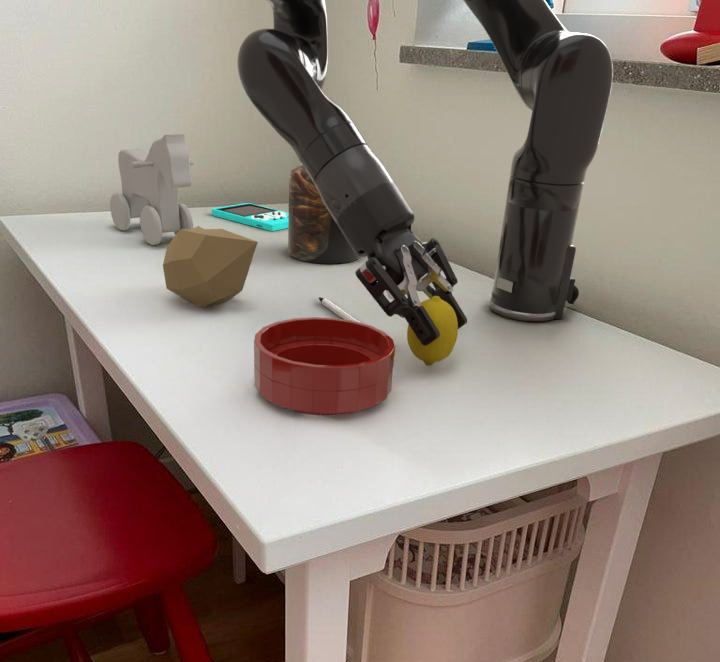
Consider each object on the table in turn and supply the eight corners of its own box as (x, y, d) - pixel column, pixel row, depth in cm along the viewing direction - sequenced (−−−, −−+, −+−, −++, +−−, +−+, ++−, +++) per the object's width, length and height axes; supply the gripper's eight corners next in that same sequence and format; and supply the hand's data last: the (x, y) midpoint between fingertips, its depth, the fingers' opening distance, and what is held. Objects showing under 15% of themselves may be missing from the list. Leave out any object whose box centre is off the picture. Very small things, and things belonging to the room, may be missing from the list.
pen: (385, 350, 90) (386, 341, 89) (316, 301, 104) (316, 293, 103) (391, 349, 90) (392, 340, 90) (321, 300, 104) (322, 292, 104)
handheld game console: (270, 231, 136) (270, 223, 136) (209, 215, 145) (209, 207, 144) (308, 223, 143) (308, 216, 143) (248, 208, 152) (248, 201, 151)
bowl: (384, 367, 85) (388, 320, 83) (395, 423, 74) (401, 370, 71) (259, 363, 84) (258, 314, 82) (250, 419, 72) (249, 364, 70)
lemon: (426, 352, 90) (434, 285, 86) (463, 368, 87) (472, 298, 83) (393, 363, 87) (400, 293, 83) (430, 379, 83) (438, 307, 79)
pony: (214, 247, 125) (210, 134, 116) (156, 255, 119) (147, 137, 110) (156, 221, 138) (148, 118, 129) (100, 227, 132) (89, 119, 123)
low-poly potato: (236, 324, 95) (289, 265, 100) (184, 250, 89) (244, 192, 94) (171, 324, 106) (222, 271, 110) (120, 258, 99) (176, 205, 104)
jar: (342, 268, 119) (347, 165, 111) (275, 256, 122) (276, 155, 115) (371, 252, 128) (378, 156, 121) (308, 241, 132) (311, 147, 124)
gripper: (346, 187, 75) (438, 333, 76) (421, 172, 86) (501, 301, 86) (302, 232, 81) (388, 369, 81) (378, 213, 91) (454, 334, 92)
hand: (446, 333), depth 84 cm, fingers closed on lemon, 5 cm apart
